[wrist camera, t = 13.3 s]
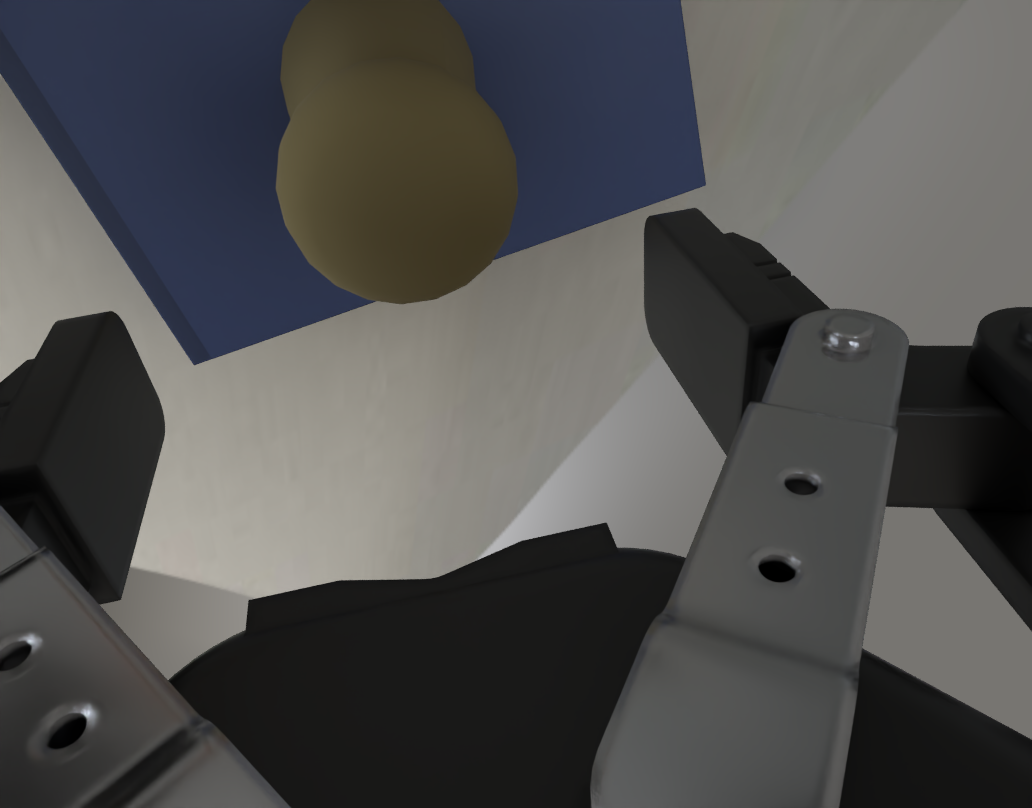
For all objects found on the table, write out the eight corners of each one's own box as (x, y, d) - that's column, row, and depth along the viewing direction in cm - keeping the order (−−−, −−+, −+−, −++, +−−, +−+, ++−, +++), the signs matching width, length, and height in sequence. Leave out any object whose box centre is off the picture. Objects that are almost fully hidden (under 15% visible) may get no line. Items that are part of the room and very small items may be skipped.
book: (205, 323, 32) (193, 365, 29) (-37, -62, 23) (-83, -51, 21) (676, 157, 31) (706, 185, 29) (604, -295, 23) (638, -312, 20)
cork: (362, 212, 27) (375, 391, 18) (236, 53, 23) (177, 179, 15) (510, 111, 26) (601, 248, 17) (402, -72, 22) (445, -17, 14)
